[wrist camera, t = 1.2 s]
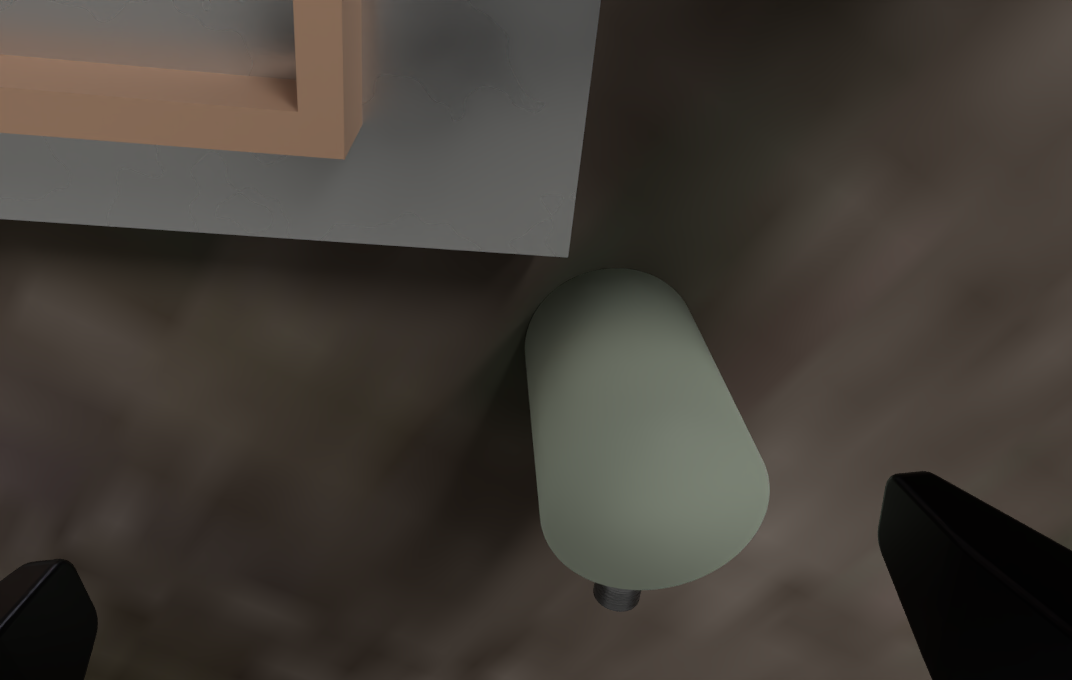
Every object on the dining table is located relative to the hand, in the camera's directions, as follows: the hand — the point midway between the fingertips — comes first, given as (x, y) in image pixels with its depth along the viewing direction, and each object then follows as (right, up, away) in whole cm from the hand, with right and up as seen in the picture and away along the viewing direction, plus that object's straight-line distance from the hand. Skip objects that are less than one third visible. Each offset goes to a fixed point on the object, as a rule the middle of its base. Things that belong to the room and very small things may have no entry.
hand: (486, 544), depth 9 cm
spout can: (+3, +2, +15) cm, 15 cm away
